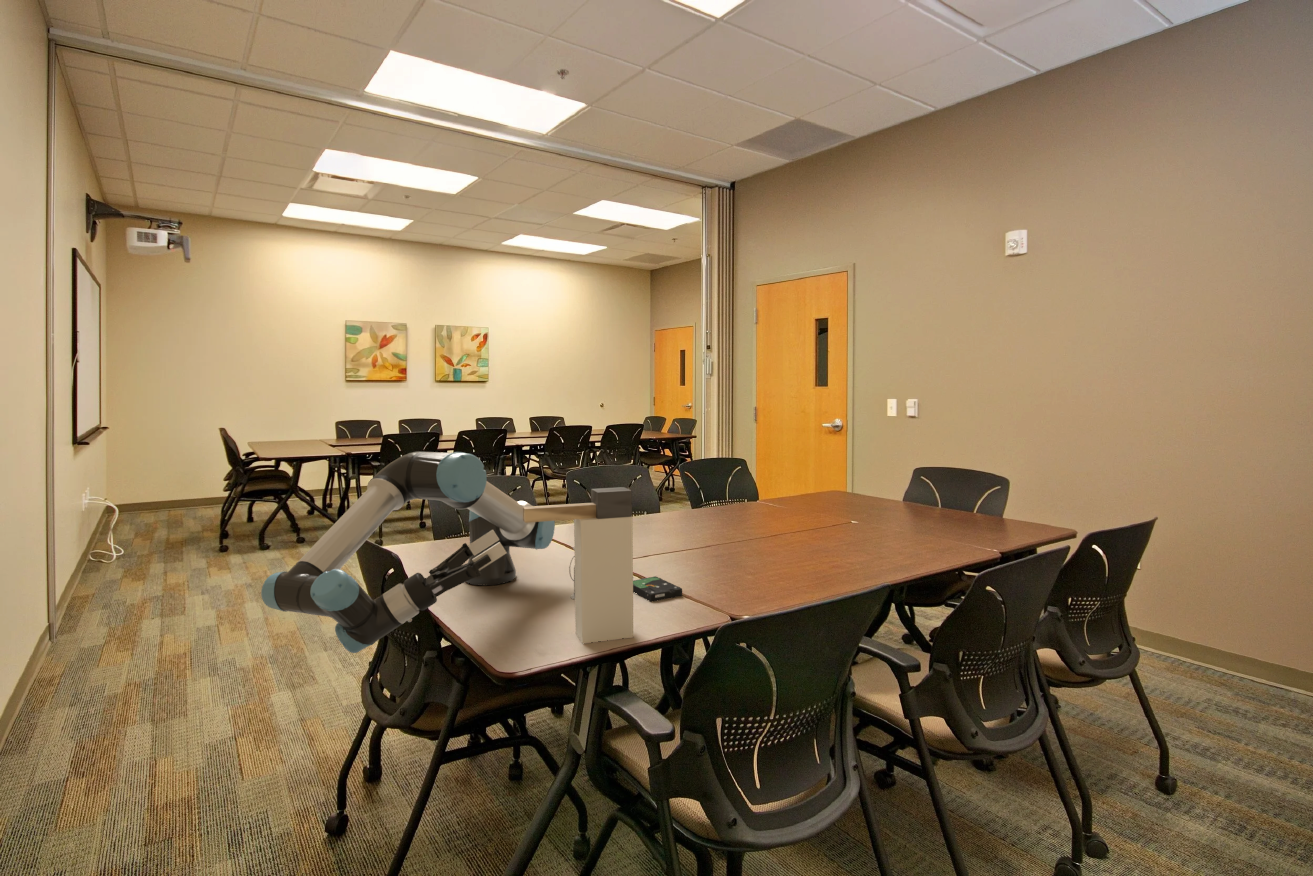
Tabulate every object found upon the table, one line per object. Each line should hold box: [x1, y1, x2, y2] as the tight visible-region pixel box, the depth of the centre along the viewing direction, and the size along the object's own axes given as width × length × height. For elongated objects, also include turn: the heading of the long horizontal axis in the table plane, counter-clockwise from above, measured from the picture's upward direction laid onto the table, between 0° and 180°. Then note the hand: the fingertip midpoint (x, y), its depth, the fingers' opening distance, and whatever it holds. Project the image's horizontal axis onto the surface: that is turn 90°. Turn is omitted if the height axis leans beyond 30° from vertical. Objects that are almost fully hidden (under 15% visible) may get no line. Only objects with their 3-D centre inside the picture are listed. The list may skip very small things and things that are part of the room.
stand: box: [573, 516, 634, 645], centre depth 158 cm, size 7×12×28 cm, turn 109°
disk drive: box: [633, 575, 683, 603], centre depth 192 cm, size 10×3×15 cm
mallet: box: [523, 486, 633, 523], centre depth 154 cm, size 6×24×6 cm, turn 109°
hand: (499, 540), depth 149 cm, fingers open, 13 cm apart
